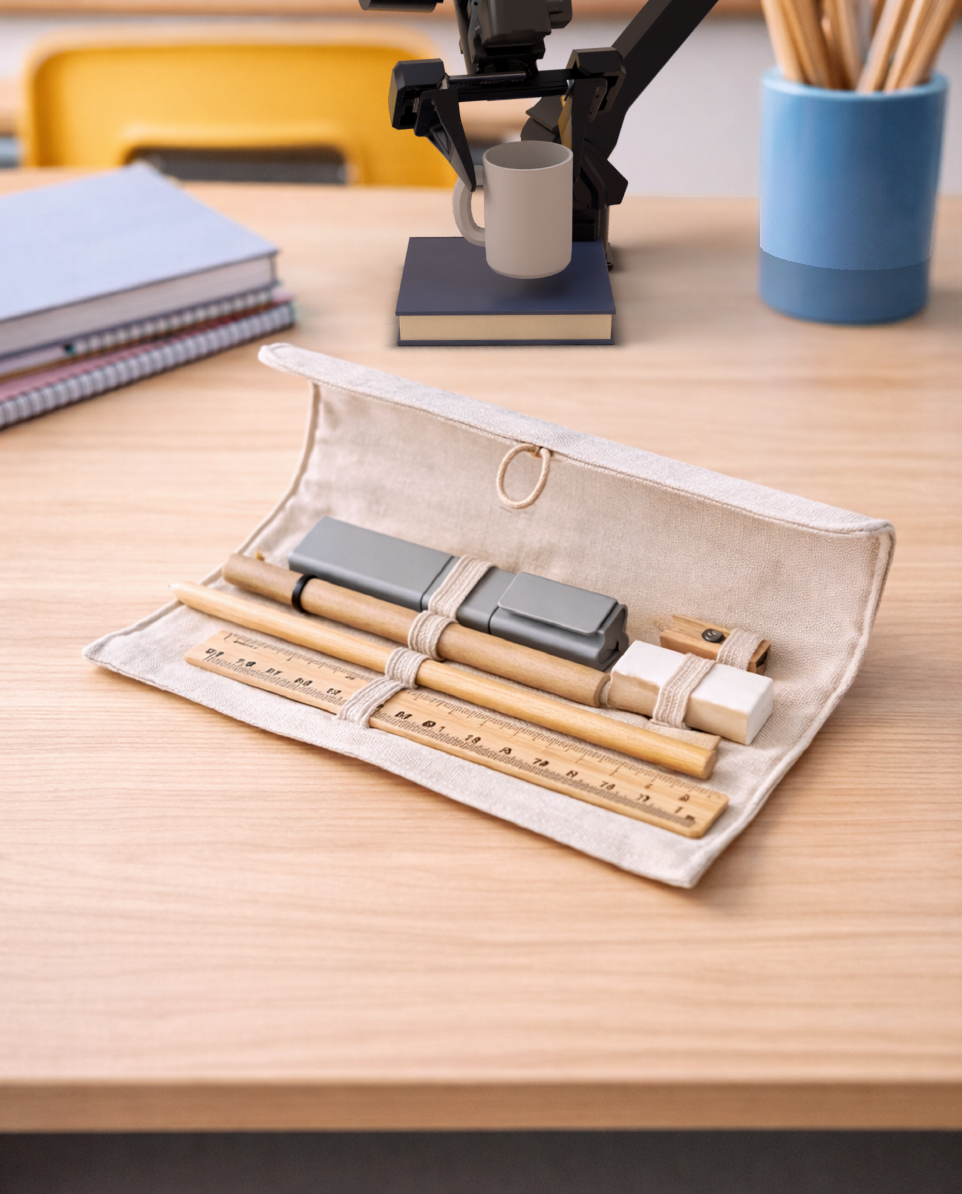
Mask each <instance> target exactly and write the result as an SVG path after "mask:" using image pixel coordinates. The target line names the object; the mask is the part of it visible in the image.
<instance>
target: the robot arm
mask: <svg viewBox="0 0 962 1194" xmlns="http://www.w3.org/2000/svg"><path fill="white" fill-rule="evenodd" d="M357 1H358V4H359V7H360V8H361V10H362V11H366V12H367V11H369V12H392V13H393V12H394V13H416V14H417V13H418V14H419V13H420V14H432V13H433V12H434V11H435V9H436V7H437V4H440V5H441V4H444V2H445V0H357ZM452 1H453V7H454V12H455V18H456V23H457V29H458V34H459V41H458V46H459V51H460V55H463V60H464V65H465V69H466V74H456V75H455V74H454V75H449V74H448V72H446V68H445V63H444V61H443V60H442V59H441V57H435V58H422V59H421V58H420V59H406V60H404V59H403V60H398V61H397V62H396V63H395V65H394V66H393V68H392V69H391V75H390V83H389V89H388V96H387V105H388V114H389V119H390V124H391V128H393V129H395V130H396V131H404V130H405V131H406V130H413V134H414V136H415V137H417V138H425V139H427V140H428V141H429V142H430V143H431V144H432V146H434V148H436V149H437V151H438V152H439V153H440V154H441V155H442V157H444V158H445V159H446V161H447V162H448V164H449V165H450V166H451V168H452V169H453V170H454V172H455V173H456V175H457V176H459V177H460V179H461V180H462V181H463V183H464V184H465V186H466V187H467V188H468V190H469V191H470V192H473V193H475V192H476V189H477V183H476V176H475V169H474V166H475V165H474V162H473V161H474V160H473V157H472V154H471V150H470V147H469V142H468V139H467V135H466V132H465V129H464V124H463V122H462V117H461V110H460V109H461V108H460V103H471V102H484V101H486V102H499V101H500V102H501V101H513V100H524V99H526V100H527V99H539V100H538V101H537V102H536V103H535V104H534V105H533V106H531V107H529V108H528V109H526V110H525V112H524V113H525V115H526V116H528V118H527V120H526V122H525V123H524V125H523V126H522V128H521V131H520V134H519V137H520V141H546V142H552V143H557V144H560V145H563V146H566V147H567V148H569V149H570V150H571V151H572V152H573V183H572V242H594V241H596V239H599V236H601V238H602V243H603V248H604V253H605V258H606V263H607V268H608V270H612V269H614V267H615V262H614V257H613V253H612V248H611V244H610V242H609V233H610V231H609V230H610V211H611V206H619V205H621V204H622V202H623V199H624V197H625V195H626V192H627V189H628V186H629V180H628V179H627V178H626V177H625V176H624V175H623V173H621V172H620V170H618V169H617V168H616V166H614V164H613V163H612V162H611V161H609V158H610V157H611V155H612V154H613V152H614V150H615V149H616V147H617V145H618V141H619V139H620V135H621V132H622V129H623V125H624V122H625V119H626V116H627V113H628V112H629V110H630V108H631V107H632V106H633V105H634V103H635V102H636V101H637V100H638V99H639V97H640V96H641V95H642V94H643V92H645V90H646V89H647V88H648V86H650V84H651V82H652V81H653V80H654V79H655V78H656V77H657V76H658V74H660V72H661V71H662V69H664V67H665V66H666V65H667V63H668V62H670V60H671V59H672V57H674V55H676V53H677V52H678V50H679V49H680V48H681V46H682V45H683V44H684V43H685V42H686V41H687V39H688V38H689V37H690V36H691V35H692V33H694V31H695V30H696V29H697V28H698V26H699V25H700V24H701V23H702V21H703V20H704V19H705V18H706V17H707V15H708V14H709V13H710V12H711V11H712V9H713V8H714V7H715V6H716V5H717V3H718V2H719V1H720V0H647V1H646V2H645V3H644V4H643V6H642V7H641V9H640V10H639V11H638V12H637V14H636V15H635V16H634V17H633V18H632V20H631V21H630V22H629V23H628V25H626V27H625V28H624V30H623V31H622V32H621V33H620V35H618V37H617V38H616V39H615V40H614V42H613V43H612V44H611V46H603V47H602V46H601V47H587V48H586V47H585V48H573V49H572V50H571V53H570V55H569V58H568V61H567V63H566V66H565V68H555V69H544V70H543V69H542V70H539V68H538V62H537V61H539V60H543V59H544V57H545V54H546V51H547V49H546V43H545V38H546V36H551V34H552V30H561V29H562V30H563V29H565V28H566V27H567V26H568V25H569V24H570V23H571V22H572V20H573V14H574V13H573V1H572V0H452Z"/></svg>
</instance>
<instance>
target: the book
mask: <svg viewBox="0 0 962 1194" xmlns="http://www.w3.org/2000/svg"><path fill="white" fill-rule="evenodd" d="M402 268H403V269H402V274H401V280H400V285H399V290H398V297H397V299H396V306H395V312H394V313H395V317H399V328H398V333H397V338H396V339H397V340H396V346H400V347H401V346H402V347H403V346H546V345H547V346H548V345H551V346H552V345H553V346H555V345H556V346H557V345H558V346H559V345H561V346H564V345H567V346H568V345H570V346H571V345H573V346H574V345H575V346H576V345H615V338H614V332H613V331H614V330H613V326H612V315H616V314H617V309H616V304H615V298H614V294H613V289H612V283H611V279H610V274H609V269H608V268H607V263H606V258H605V253H604V248H603V243H602V238H601V236H599V239H596V241H594V242H572V251H571V261H570V262H569V264H568V265H567V267H566V268H565V269H564V270H562V271H561V272H559V273H557V274H554V275H551V276H547V277H543V278H534V279H520V278H511V277H507V276H503V275H501V274H498V273H496V272H495V271H494V270H492V269H491V268H490V266H489V265H488V263H487V260H486V248H485V247H482V246H477V245H474V244H472V243H470V242H468V241H467V240H466V239H465V238H464V237H463V236H409V237H408V242H407V248H406V254H405V259H404V265H403V267H402Z"/></svg>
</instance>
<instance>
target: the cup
mask: <svg viewBox="0 0 962 1194" xmlns="http://www.w3.org/2000/svg"><path fill="white" fill-rule="evenodd" d="M481 160H482V164H477V165H474V169H475V176H476V183H477V186H483V216H484V217H483V218H484V227H482V226H480V225H478V224H477V223H476V222H475V219H474V216H473V211H472V200H473V199H472V197H473V193H474V192H470V191H469V190H468V188H467V187H466V186H465V184H464V183H463V181H462V180H461V179H460V177H459V176H458V175H457V176H458V177H457V179H456V181H455V184H454V186H453V190H452V197H451V201H452V203H451V205H452V214H453V218H454V222H455V225H456V227H457V229H458V231H459V232H460V234H461V237H464V238H465V239H466V240H467V241H468V242H470V243H472V244H474V245H477V246H482V247H485V248H486V260H487V263H488V265H489V266H490V268H491V269H492V270H494V271H495V272H496V273H498V274H501V275H503V276H507V277H511V278H520V279H534V278H543V277H547V276H551V275H554V274H557V273H559V272H561V271H562V270H564V269H565V268H566V267H567V265H568V264H569V262H570V261H571V251H572V183H573V152H572V151H571V150H570V149H569V148H567V147H566V146H563V145H560V144H557V143H552V142H546V141H521V140H518V141H511V142H505V143H501V144H500V143H499V144H498V145H495V146H492V147H490V148H488V149H486V150H485V151H484V152H483V153H482V157H481Z"/></svg>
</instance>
